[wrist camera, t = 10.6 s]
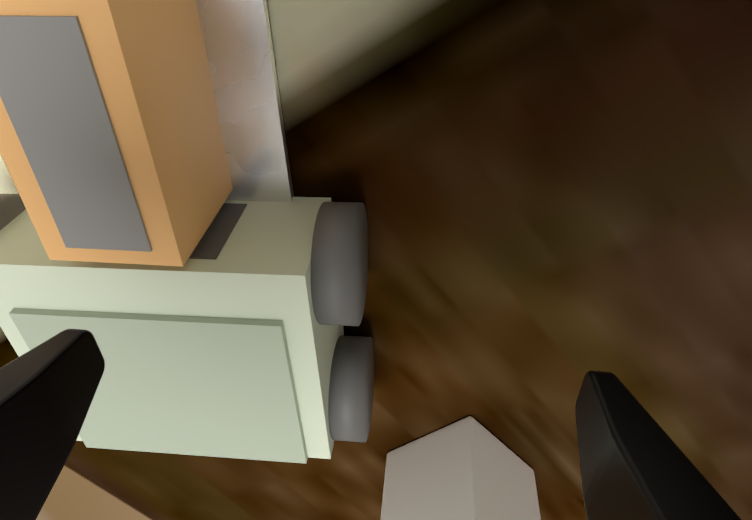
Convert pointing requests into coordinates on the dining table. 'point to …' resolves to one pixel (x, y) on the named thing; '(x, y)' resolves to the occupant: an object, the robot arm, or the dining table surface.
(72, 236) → the block
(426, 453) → the milk
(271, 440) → the mower deck
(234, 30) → the mounting plate
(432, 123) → the dining table surface
